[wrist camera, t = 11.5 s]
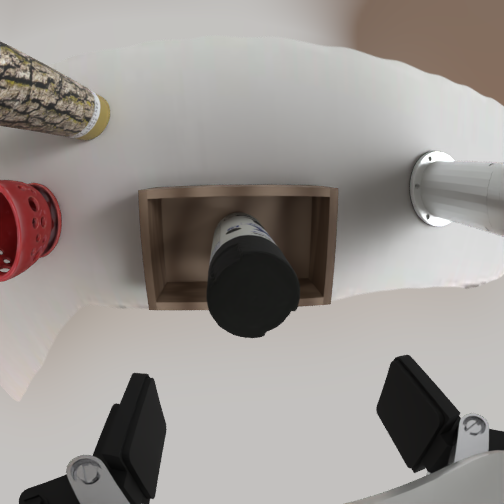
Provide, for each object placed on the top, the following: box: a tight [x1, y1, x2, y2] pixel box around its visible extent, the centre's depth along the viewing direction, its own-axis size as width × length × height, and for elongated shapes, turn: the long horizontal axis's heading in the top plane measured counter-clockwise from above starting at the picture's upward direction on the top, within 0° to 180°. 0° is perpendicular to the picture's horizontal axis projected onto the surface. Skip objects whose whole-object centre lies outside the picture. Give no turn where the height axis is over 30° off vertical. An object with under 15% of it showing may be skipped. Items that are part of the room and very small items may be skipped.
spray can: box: [206, 212, 300, 338], centre depth 29 cm, size 7×7×20 cm
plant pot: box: [0, 180, 61, 282], centre depth 30 cm, size 13×13×12 cm
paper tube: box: [0, 42, 110, 140], centre depth 21 cm, size 7×7×25 cm
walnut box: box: [138, 185, 338, 310], centre depth 36 cm, size 22×14×8 cm, turn 90°
